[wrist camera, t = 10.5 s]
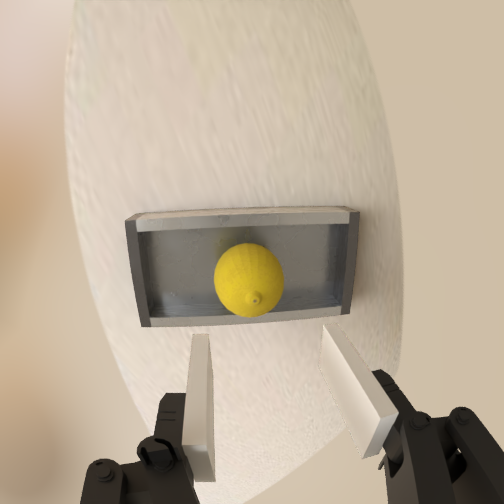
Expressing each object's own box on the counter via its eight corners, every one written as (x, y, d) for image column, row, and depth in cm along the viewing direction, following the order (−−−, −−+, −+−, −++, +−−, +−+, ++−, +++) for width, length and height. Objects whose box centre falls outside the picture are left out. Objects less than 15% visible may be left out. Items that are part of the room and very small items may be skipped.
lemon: (238, 300, 28) (245, 347, 21) (202, 257, 27) (196, 294, 19) (285, 267, 28) (309, 305, 20) (251, 221, 26) (265, 245, 18)
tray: (136, 213, 26) (124, 220, 22) (344, 206, 28) (359, 212, 24) (148, 309, 29) (141, 326, 25) (337, 298, 31) (349, 313, 27)
